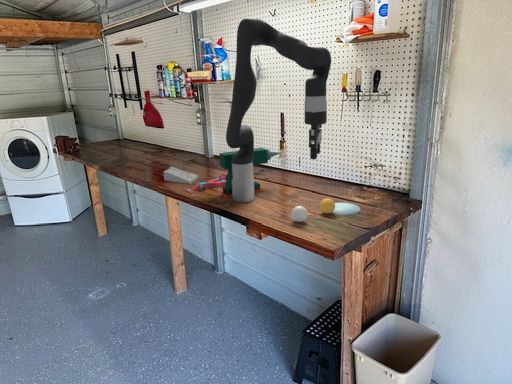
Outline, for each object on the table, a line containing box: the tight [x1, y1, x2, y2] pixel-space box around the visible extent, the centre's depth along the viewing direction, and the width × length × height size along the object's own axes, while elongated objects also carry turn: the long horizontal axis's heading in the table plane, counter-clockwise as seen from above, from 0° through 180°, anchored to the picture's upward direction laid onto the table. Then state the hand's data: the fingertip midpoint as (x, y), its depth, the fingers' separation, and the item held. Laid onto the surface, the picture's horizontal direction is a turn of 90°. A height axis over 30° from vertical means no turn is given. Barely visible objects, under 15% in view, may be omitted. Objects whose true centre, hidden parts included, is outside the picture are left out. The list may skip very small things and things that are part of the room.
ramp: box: [163, 166, 199, 185], centre depth 212 cm, size 28×16×5 cm, turn 36°
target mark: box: [330, 202, 361, 216], centre depth 153 cm, size 14×14×1 cm
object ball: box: [319, 197, 336, 215], centre depth 149 cm, size 6×6×6 cm
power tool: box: [218, 147, 281, 199], centre depth 181 cm, size 32×7×20 cm, turn 115°
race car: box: [183, 170, 228, 194], centre depth 194 cm, size 14×6×25 cm
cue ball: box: [290, 205, 308, 223], centre depth 142 cm, size 6×6×6 cm
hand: (315, 156), depth 134 cm, fingers open, 8 cm apart
